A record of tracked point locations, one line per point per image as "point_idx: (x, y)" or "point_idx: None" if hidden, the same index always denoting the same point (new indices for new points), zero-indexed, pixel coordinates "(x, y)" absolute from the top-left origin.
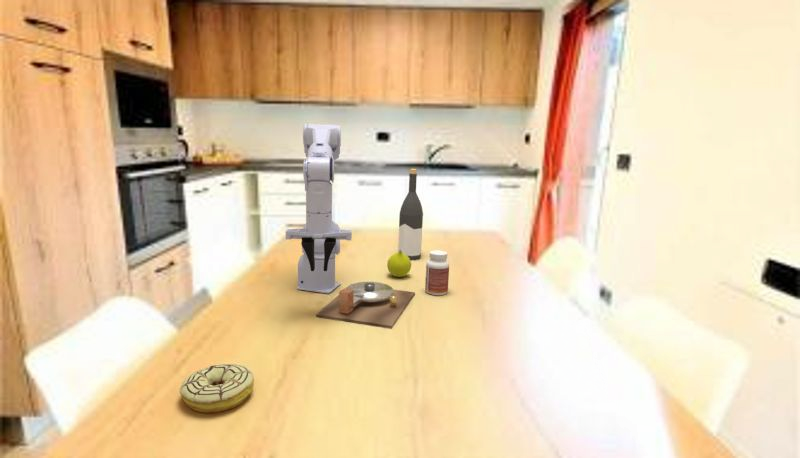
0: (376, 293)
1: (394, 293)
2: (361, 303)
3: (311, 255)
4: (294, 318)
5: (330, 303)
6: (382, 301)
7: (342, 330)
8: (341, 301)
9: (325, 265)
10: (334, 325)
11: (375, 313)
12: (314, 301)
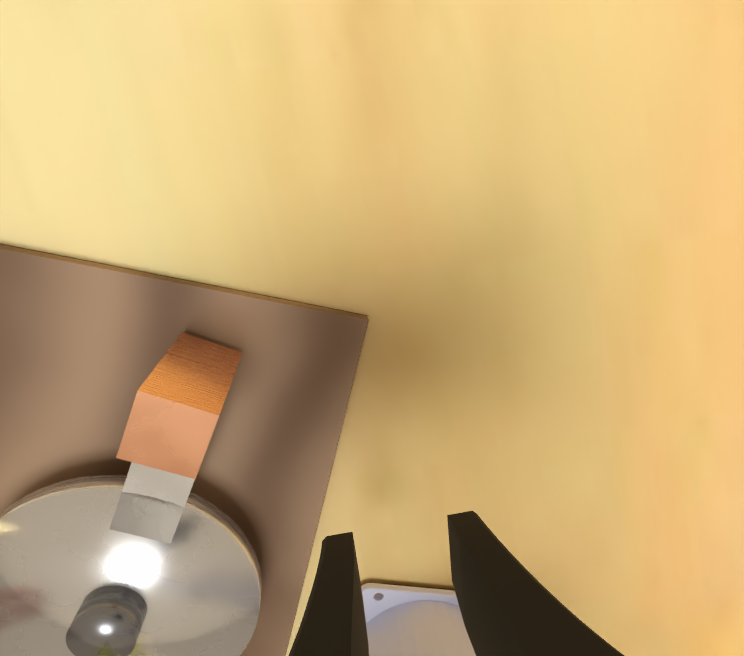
0: (52, 567)
1: None
2: None
3: (540, 649)
4: (474, 281)
5: (322, 465)
6: None
7: (172, 157)
8: (211, 375)
9: (334, 575)
10: (238, 220)
11: (28, 381)
12: (414, 492)
